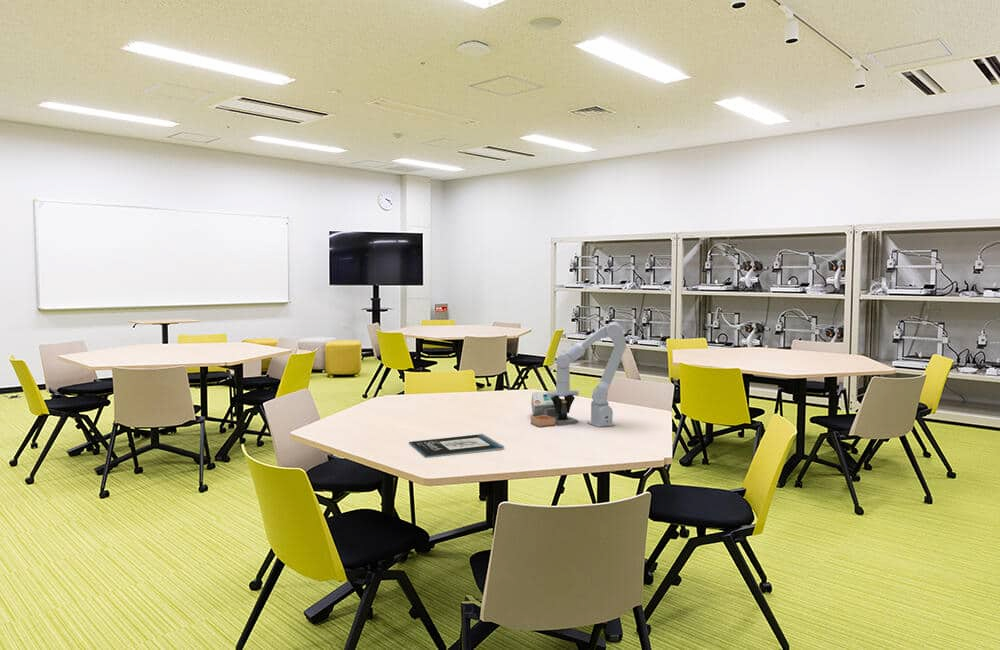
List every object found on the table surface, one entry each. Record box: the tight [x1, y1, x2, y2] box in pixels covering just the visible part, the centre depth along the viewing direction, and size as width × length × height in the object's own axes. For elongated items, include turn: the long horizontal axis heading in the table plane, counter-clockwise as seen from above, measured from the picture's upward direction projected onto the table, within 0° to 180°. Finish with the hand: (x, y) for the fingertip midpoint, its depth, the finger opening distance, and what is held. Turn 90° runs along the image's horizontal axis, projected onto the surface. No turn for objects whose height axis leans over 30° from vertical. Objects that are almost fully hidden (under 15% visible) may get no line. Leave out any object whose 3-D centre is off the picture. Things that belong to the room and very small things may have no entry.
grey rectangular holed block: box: [542, 407, 579, 426], centre depth 292 cm, size 13×10×5 cm
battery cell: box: [558, 398, 568, 420], centre depth 290 cm, size 4×4×8 cm
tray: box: [530, 415, 556, 428], centre depth 286 cm, size 8×8×3 cm
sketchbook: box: [408, 433, 505, 459], centre depth 248 cm, size 22×30×2 cm
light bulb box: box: [530, 390, 556, 417], centre depth 301 cm, size 11×7×11 cm
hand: (562, 413), depth 291 cm, fingers closed on battery cell, 4 cm apart
